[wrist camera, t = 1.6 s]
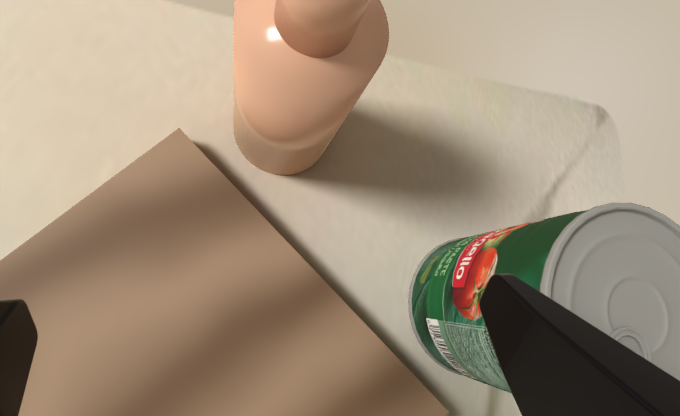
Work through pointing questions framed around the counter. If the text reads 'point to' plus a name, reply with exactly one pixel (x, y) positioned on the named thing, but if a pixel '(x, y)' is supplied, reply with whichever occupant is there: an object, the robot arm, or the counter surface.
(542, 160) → the counter surface
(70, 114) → the counter surface
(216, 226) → the walnut board
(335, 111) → the pink bottle
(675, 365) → the canned tomato
